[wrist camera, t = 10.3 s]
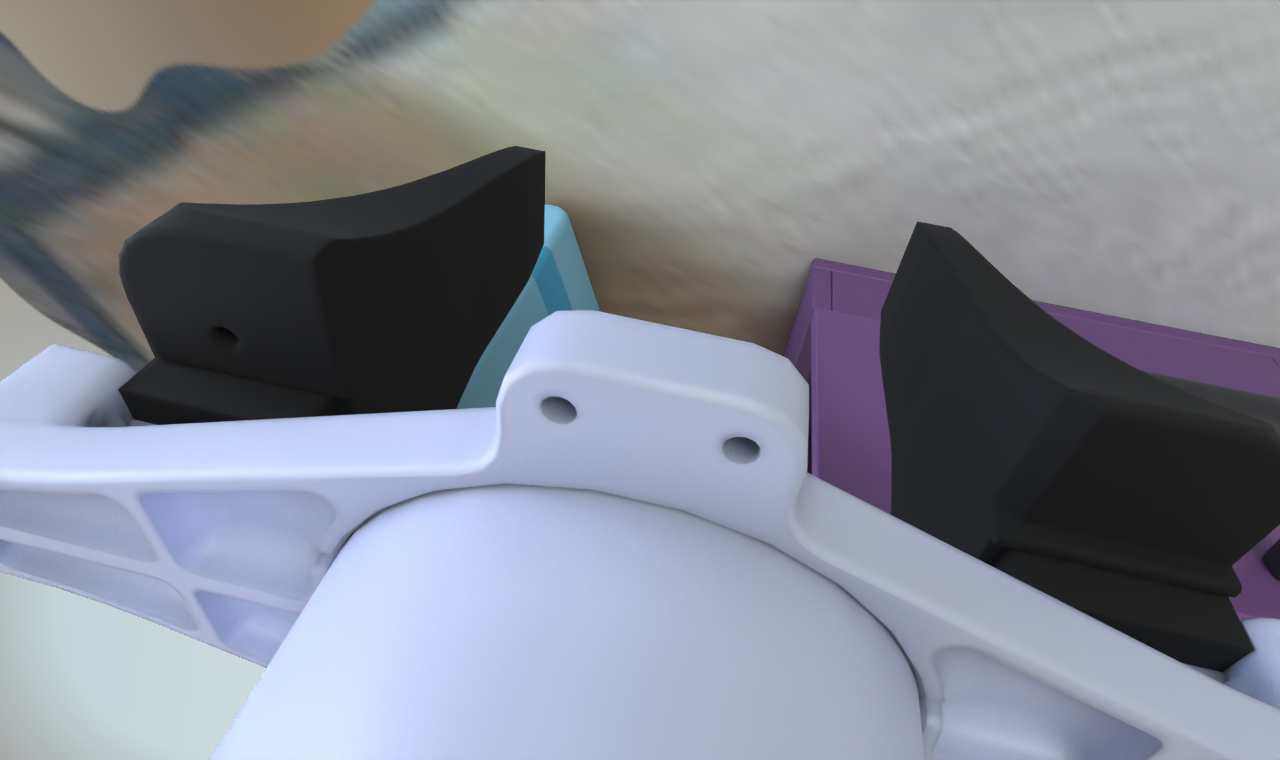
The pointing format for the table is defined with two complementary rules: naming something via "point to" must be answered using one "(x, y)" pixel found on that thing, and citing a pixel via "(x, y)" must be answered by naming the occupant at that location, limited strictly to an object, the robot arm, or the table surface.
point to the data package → (534, 306)
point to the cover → (861, 450)
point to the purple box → (1114, 335)
